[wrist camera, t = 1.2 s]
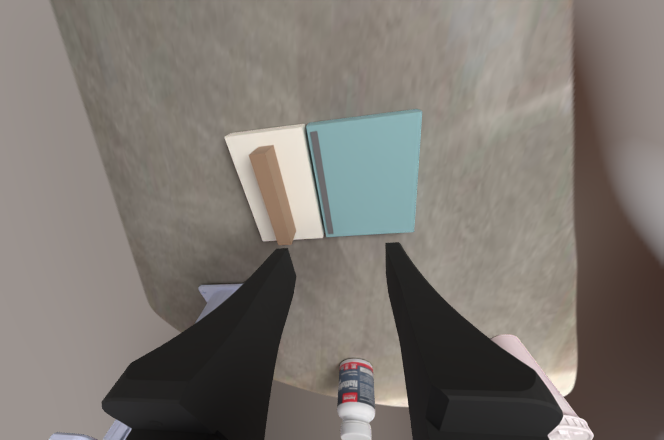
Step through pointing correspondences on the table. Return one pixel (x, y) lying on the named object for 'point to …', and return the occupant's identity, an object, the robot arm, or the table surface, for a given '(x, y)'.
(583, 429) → the smoothie
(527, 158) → the table surface
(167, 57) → the table surface
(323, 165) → the teal flat block
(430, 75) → the table surface
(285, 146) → the cream block with bar
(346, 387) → the pill bottle
